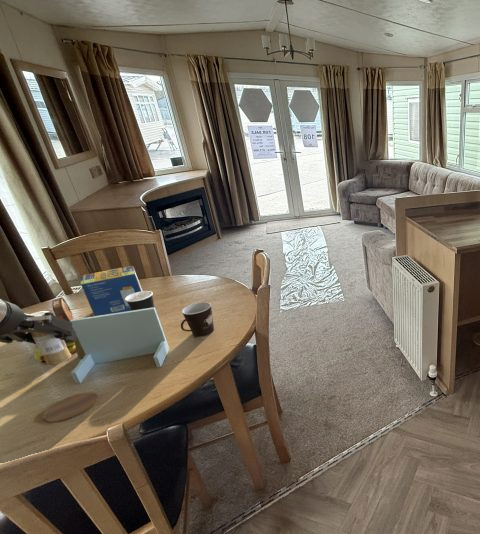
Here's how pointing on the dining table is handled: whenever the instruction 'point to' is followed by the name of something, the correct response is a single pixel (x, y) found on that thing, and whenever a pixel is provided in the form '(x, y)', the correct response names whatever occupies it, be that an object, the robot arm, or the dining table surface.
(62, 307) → the tin
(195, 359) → the dining table surface
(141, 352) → the light blue standing panel
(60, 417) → the coaster
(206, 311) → the coffee mug
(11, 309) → the robot arm
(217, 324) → the dining table surface
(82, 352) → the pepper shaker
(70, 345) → the cheeseburger
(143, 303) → the dixie cup
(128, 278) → the protein box
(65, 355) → the sprinkles bottle
